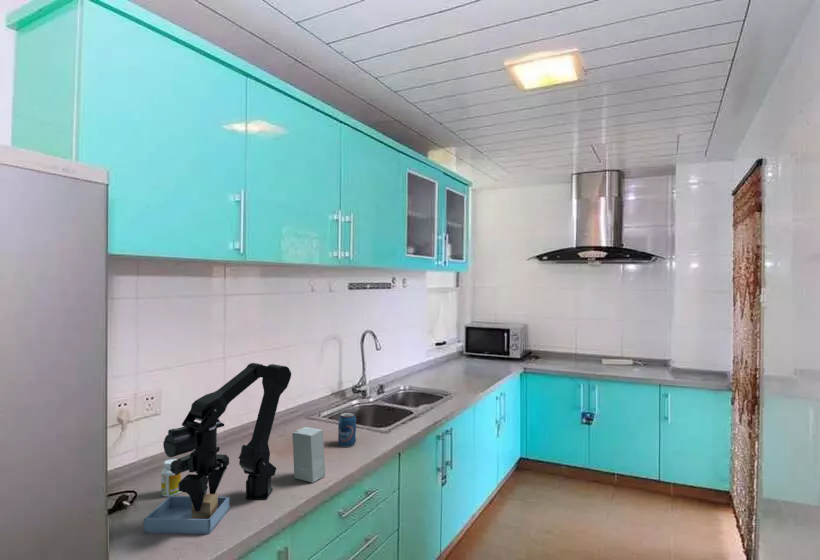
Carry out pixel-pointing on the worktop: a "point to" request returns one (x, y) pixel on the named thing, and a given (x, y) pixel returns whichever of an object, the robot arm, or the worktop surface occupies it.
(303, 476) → the skincare box
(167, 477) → the supplement bottle
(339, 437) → the soda can
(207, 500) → the cube
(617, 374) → the worktop surface
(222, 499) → the tote
